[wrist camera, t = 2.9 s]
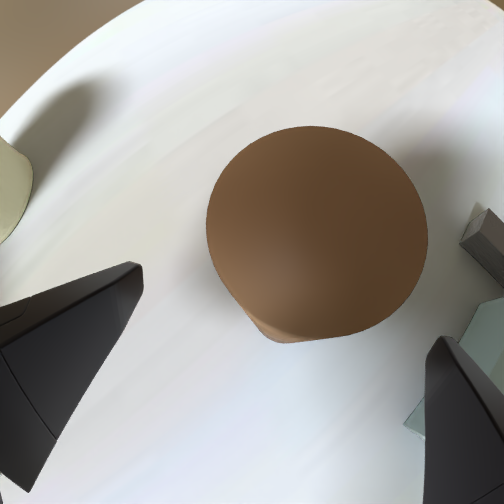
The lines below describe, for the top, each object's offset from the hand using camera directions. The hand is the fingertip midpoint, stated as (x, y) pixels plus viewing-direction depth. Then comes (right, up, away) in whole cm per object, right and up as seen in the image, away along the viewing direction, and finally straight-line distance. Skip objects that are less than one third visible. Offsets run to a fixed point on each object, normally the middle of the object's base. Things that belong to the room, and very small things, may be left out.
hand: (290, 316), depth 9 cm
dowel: (+1, -1, +9) cm, 9 cm away
